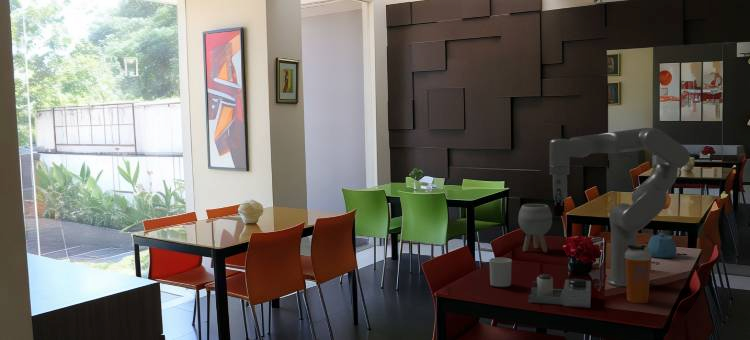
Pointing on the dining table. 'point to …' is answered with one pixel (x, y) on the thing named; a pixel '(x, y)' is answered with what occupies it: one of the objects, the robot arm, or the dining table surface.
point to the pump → (544, 285)
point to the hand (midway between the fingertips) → (559, 213)
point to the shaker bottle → (637, 273)
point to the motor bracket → (567, 294)
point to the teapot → (662, 246)
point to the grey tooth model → (535, 223)
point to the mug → (500, 272)
